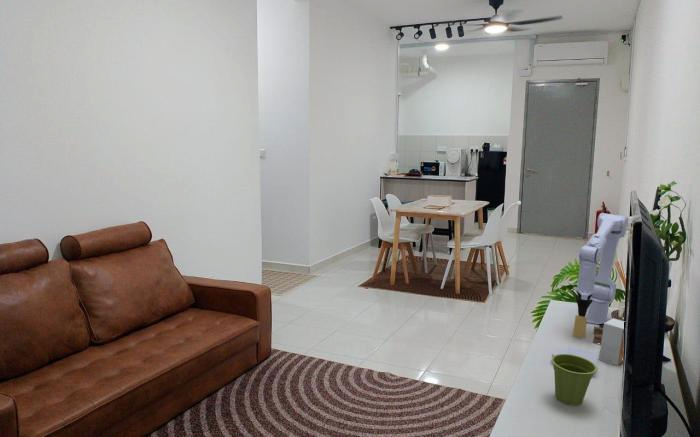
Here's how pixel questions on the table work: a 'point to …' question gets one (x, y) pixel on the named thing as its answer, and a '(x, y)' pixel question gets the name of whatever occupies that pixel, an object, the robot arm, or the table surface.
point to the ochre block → (580, 326)
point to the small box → (612, 342)
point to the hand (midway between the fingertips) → (581, 312)
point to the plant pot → (572, 377)
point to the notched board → (597, 334)
